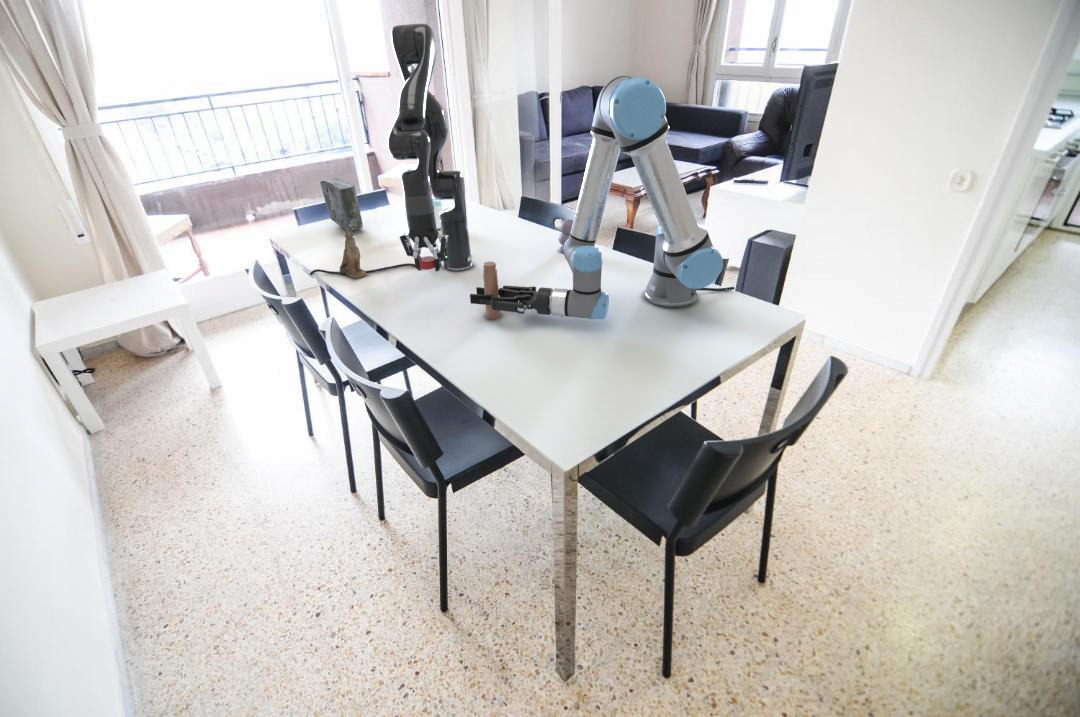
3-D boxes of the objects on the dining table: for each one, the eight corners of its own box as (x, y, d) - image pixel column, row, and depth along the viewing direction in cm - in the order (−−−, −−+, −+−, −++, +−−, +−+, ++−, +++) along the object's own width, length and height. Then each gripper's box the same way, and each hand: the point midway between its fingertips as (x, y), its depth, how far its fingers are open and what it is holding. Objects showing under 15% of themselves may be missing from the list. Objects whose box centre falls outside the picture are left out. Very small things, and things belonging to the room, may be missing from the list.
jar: (502, 314, 146) (499, 262, 138) (495, 320, 143) (491, 267, 135) (491, 312, 148) (487, 260, 139) (483, 317, 145) (479, 264, 136)
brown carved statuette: (368, 281, 178) (362, 235, 166) (353, 285, 175) (347, 238, 163) (352, 266, 184) (346, 221, 172) (338, 270, 181) (331, 224, 169)
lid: (416, 267, 142) (415, 260, 141) (427, 262, 145) (426, 255, 144) (429, 270, 140) (427, 262, 138) (440, 265, 143) (439, 257, 142)
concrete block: (368, 232, 220) (358, 186, 209) (348, 237, 216) (336, 189, 205) (349, 220, 239) (338, 176, 228) (330, 223, 234) (319, 179, 224)
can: (445, 229, 220) (441, 202, 214) (429, 230, 220) (425, 202, 214) (447, 224, 226) (444, 198, 220) (432, 225, 226) (428, 198, 220)
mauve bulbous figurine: (584, 250, 191) (584, 219, 185) (571, 255, 186) (571, 223, 180) (567, 245, 196) (567, 215, 190) (554, 251, 191) (553, 220, 185)
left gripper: (389, 213, 132) (400, 274, 141) (440, 214, 130) (448, 275, 139) (401, 206, 139) (411, 264, 147) (449, 207, 136) (457, 266, 145)
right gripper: (544, 328, 133) (463, 320, 139) (559, 301, 147) (485, 295, 153) (543, 302, 129) (460, 295, 135) (559, 277, 143) (483, 272, 149)
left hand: (429, 269), depth 143 cm, fingers closed on lid, 4 cm apart
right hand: (474, 295), depth 144 cm, fingers closed on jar, 4 cm apart
